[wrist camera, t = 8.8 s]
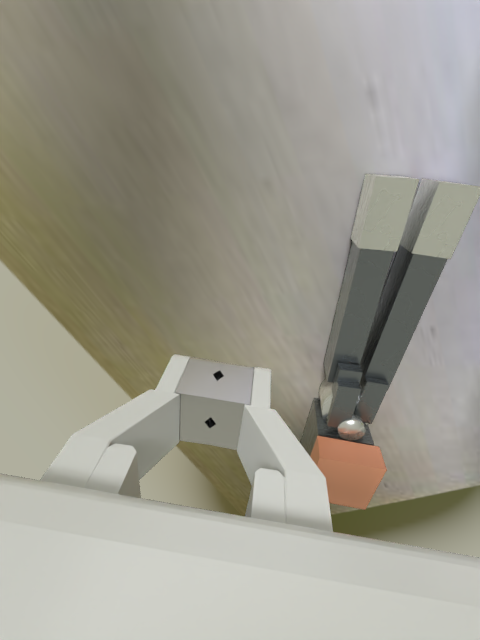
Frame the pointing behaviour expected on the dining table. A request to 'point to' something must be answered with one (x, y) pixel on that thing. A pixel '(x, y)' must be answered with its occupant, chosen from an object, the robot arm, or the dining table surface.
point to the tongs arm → (364, 291)
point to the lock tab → (349, 470)
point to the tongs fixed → (401, 299)
